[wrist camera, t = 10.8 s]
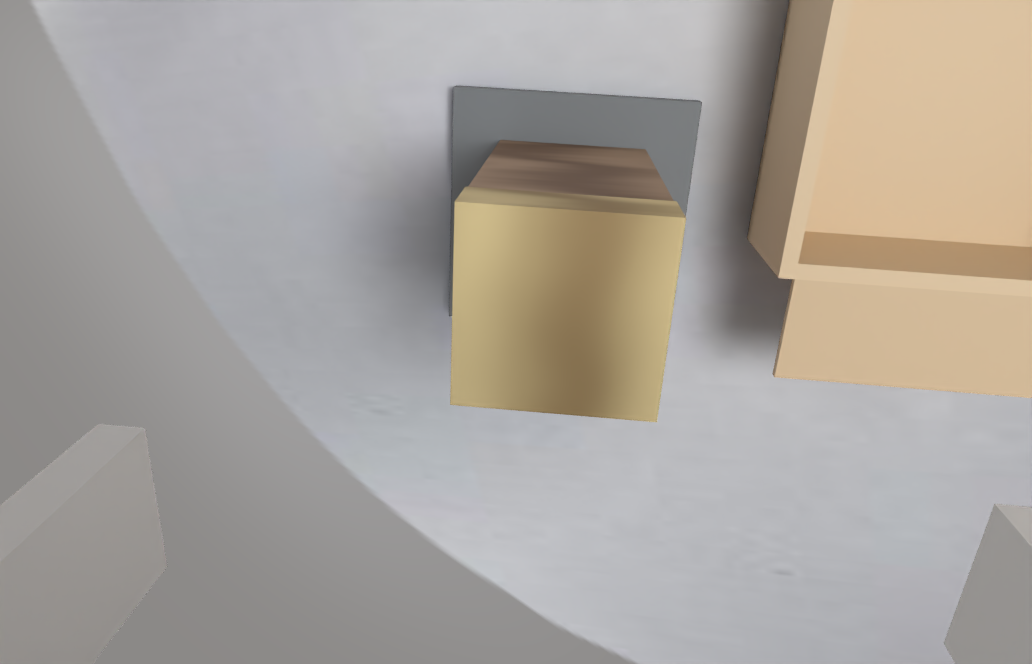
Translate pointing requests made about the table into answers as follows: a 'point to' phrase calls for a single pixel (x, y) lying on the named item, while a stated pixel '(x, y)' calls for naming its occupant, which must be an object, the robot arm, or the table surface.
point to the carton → (902, 194)
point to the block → (564, 281)
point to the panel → (571, 131)
